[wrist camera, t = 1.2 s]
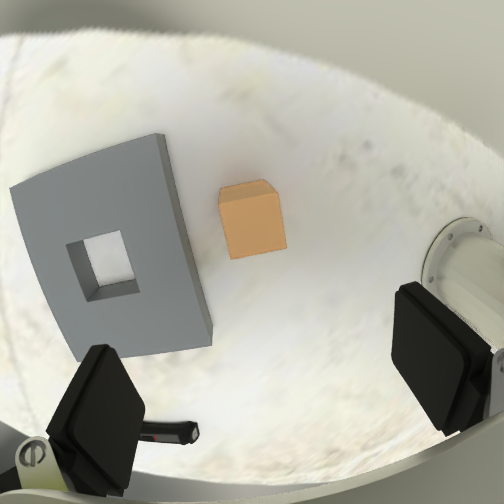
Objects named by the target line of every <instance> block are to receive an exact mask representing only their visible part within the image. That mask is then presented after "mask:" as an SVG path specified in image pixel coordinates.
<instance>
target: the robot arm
mask: <svg viewBox="0 0 504 504" xmlns="http://www.w3.org/2000/svg"><path fill="white" fill-rule="evenodd" d="M456 311H457V312H458V313H459V314H460V315H461V316H463V317H464V318H465V319H466V320H467V321H468V322H469V323H471V324H472V325H473V326H474V327H475V328H476V329H477V330H478V331H480V332H481V333H482V334H483V335H484V336H485V337H486V338H487V339H488V340H489V341H491V342H492V343H493V344H494V345H495V346H496V347H497V348H498V349H499V350H498V351H497V352H496V353H495V355H494V354H493V353H492V352H491V351H490V350H491V346H490V345H489V344H487V343H486V342H485V341H484V340H483V339H482V338H481V337H480V336H479V335H478V334H477V333H476V332H475V331H474V330H472V329H471V328H470V327H469V326H468V325H467V324H466V323H465V322H464V321H463V320H461V319H460V318H459V317H458V316H457V315H456V314H455V313H454V312H456ZM391 357H392V361H393V364H394V365H395V367H396V368H397V370H398V371H399V373H400V374H401V376H402V377H403V379H404V380H405V382H406V383H407V385H408V386H409V388H410V389H411V391H412V392H413V394H414V395H415V397H416V398H417V400H418V402H419V403H420V405H421V406H422V408H423V409H424V411H425V412H426V414H427V416H428V417H429V419H430V420H431V422H432V424H433V425H434V427H435V428H436V429H437V430H438V431H440V430H442V432H443V433H444V435H445V437H447V436H449V435H451V434H453V433H455V432H457V431H458V430H459V431H460V432H461V433H459V434H457V435H455V436H453V437H451V438H449V439H447V440H445V441H443V442H441V443H439V444H437V445H435V446H432V447H430V448H428V449H426V450H424V451H421V452H419V453H417V454H414V455H412V456H410V457H407V458H405V459H402V460H400V461H397V462H395V463H392V464H389V465H387V466H384V467H381V468H378V469H375V470H372V471H369V472H366V473H363V474H360V475H357V476H354V477H350V478H347V479H343V480H340V481H336V482H332V483H328V484H325V485H320V486H316V487H312V488H308V489H303V490H298V491H293V492H288V493H282V494H276V495H270V496H262V497H255V498H247V499H238V500H225V501H211V502H210V501H209V502H151V501H136V500H125V499H115V498H106V495H107V494H108V495H111V496H119V497H123V493H124V489H127V488H128V485H129V481H130V476H131V471H132V466H133V462H134V457H135V453H136V448H137V444H138V440H139V435H140V431H141V427H142V423H143V419H144V414H145V405H144V402H143V400H142V399H141V397H140V395H139V393H138V392H137V390H136V388H135V386H134V385H133V383H132V381H131V379H130V377H129V375H128V373H127V372H126V370H125V368H124V366H123V364H122V362H121V360H120V358H119V356H118V354H117V352H116V350H115V349H114V348H113V347H110V346H109V345H108V344H99V345H92V346H91V347H90V349H89V350H88V352H87V354H86V356H85V357H84V359H83V361H82V363H81V364H80V366H79V368H78V370H77V371H76V373H75V375H74V377H73V379H72V381H71V382H70V384H69V386H68V388H67V390H66V392H65V394H64V396H63V397H62V399H61V401H60V403H59V405H58V407H57V409H56V411H55V413H54V415H53V417H52V419H51V421H50V423H49V425H48V427H47V429H46V432H47V434H48V435H49V436H50V437H49V439H48V440H47V439H45V438H44V437H40V436H35V437H31V438H29V439H27V440H25V441H24V442H23V443H22V444H21V445H20V446H19V448H18V450H17V452H16V457H15V459H16V466H15V467H13V468H11V469H10V470H8V471H6V472H4V473H2V474H1V475H0V504H504V246H502V245H500V244H498V243H496V242H494V241H493V239H492V236H491V233H490V231H489V230H488V228H487V227H486V226H485V225H484V224H483V223H482V222H480V221H478V220H475V219H472V218H462V219H458V220H456V221H454V222H452V223H451V224H450V225H448V226H447V227H446V228H445V229H444V230H443V231H442V232H441V233H440V234H439V236H438V237H437V238H436V240H435V241H434V243H433V245H432V247H431V249H430V250H429V253H428V255H427V258H426V261H425V264H424V269H423V276H422V285H421V284H420V283H418V282H416V281H415V282H411V283H408V284H404V285H401V286H400V288H399V291H396V293H395V308H394V326H393V340H392V352H391Z"/></svg>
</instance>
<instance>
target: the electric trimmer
mask: <svg viewBox="0 0 504 504" xmlns="http://www.w3.org/2000/svg"><path fill="white" fill-rule="evenodd" d="M199 434H200V433H199V429H198V424H197V423H193V422H192V421H189V422H188V423H187V424H186V425H162V424H143V423H142V427H141V431H140V435H139V441H147V442H158V443H172V444H181V445H186V444H188V443H190V444H193V443H194V442H195V441H196V440H197V439H198V437H199Z"/></svg>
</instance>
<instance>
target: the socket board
mask: <svg viewBox="0 0 504 504" xmlns="http://www.w3.org/2000/svg"><path fill="white" fill-rule="evenodd" d="M9 189H10V193H11V197H12V201H13V205H14V209H15V212H16V216H17V220H18V223H19V226H20V230H21V233H22V236H23V239H24V242H25V245H26V248H27V251H28V254H29V257H30V260H31V263H32V265H33V268H34V271H35V273H36V276H37V278H38V281H39V283H40V286H41V288H42V291H43V293H44V295H45V298H46V300H47V302H48V305H49V307H50V309H51V311H52V313H53V316H54V318H55V320H56V322H57V324H58V326H59V328H60V330H61V332H62V334H63V336H64V338H65V340H66V342H67V344H68V346H69V348H70V350H71V351H72V353H73V355H74V357H75V359H76V361H77V362H82V361H83V359H84V357H85V356H86V354H87V352H88V350H89V349H90V347H91V346H92V345H99V344H108V345H109V346H110V347H113V348H114V349H115V350H116V352H117V354H118V356H119V358H127V357H136V356H144V355H152V354H160V353H167V352H174V351H181V350H188V349H194V348H201V347H207V346H212V335H213V325H212V322H211V318H210V315H209V312H208V308H207V305H206V301H205V298H204V294H203V291H202V287H201V284H200V280H199V277H198V273H197V269H196V266H195V262H194V258H193V255H192V251H191V247H190V243H189V240H188V236H187V232H186V228H185V224H184V220H183V216H182V212H181V208H180V204H179V199H178V195H177V191H176V187H175V183H174V178H173V174H172V169H171V165H170V160H169V156H168V151H167V146H166V142H165V137H164V135H162V134H156V133H155V134H151V135H148V136H144V137H141V138H138V139H134V140H131V141H128V142H125V143H122V144H118V145H115V146H112V147H109V148H106V149H103V150H101V151H98V152H95V153H92V154H89V155H87V156H84V157H81V158H78V159H76V160H73V161H71V162H68V163H66V164H63V165H61V166H58V167H56V168H53V169H51V170H48V171H46V172H44V173H41V174H39V175H37V176H35V177H32V178H30V179H28V180H26V181H24V182H21V183H19V184H17V185H15V186H13V187H11V188H9ZM118 230H120V231H121V235H122V238H123V241H124V245H125V248H126V251H127V254H128V257H129V260H130V263H131V267H132V270H133V272H134V275H135V278H136V280H131V281H126V282H121V283H116V284H111V285H106V286H101V287H99V286H98V283H97V280H96V278H95V275H94V272H93V269H92V267H91V264H90V261H89V258H88V255H87V252H86V249H85V246H84V243H83V240H84V239H87V238H91V237H95V236H99V235H102V234H106V233H110V232H114V231H118Z"/></svg>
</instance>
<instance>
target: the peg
mask: <svg viewBox="0 0 504 504" xmlns="http://www.w3.org/2000/svg"><path fill="white" fill-rule="evenodd" d="M218 205H219V210H220V215H221V219H222V224H223V228H224V232H225V237H226V241H227V246H228V250H229V255H230V259H231V260H233V259H237V258H242V257H247V256H252V255H257V254H262V253H267V252H271V251H276V250H281V249H286V248H287V244H286V238H285V232H284V226H283V220H282V214H281V208H280V202H279V196H278V192H277V191H276V190H275V189H274V188H273V187H272V186H270V185H269V184H268V183H267V182H266V181H265V180H258V181H253V182H248V183H243V184H238V185H233V186H228V187H224V188H220V195H219V202H218Z"/></svg>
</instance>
